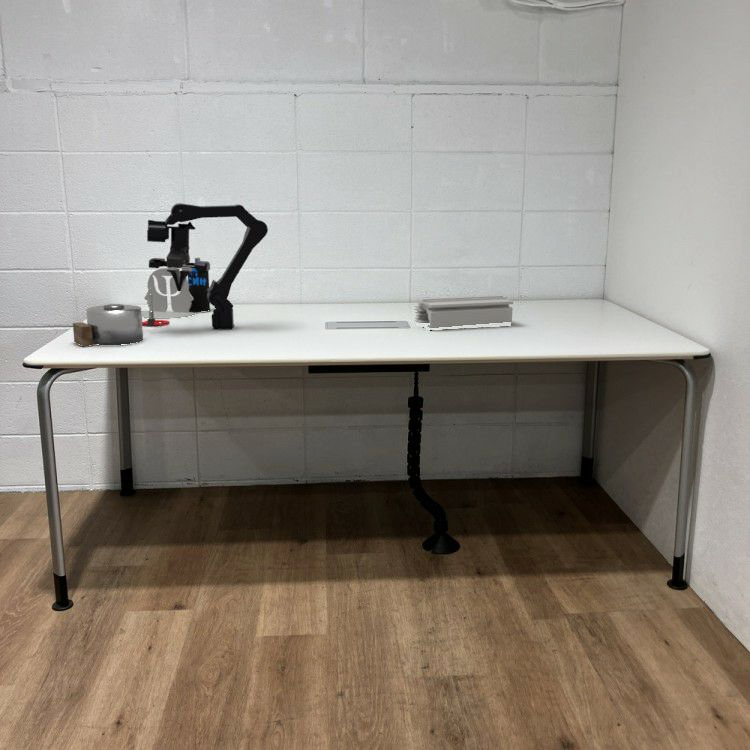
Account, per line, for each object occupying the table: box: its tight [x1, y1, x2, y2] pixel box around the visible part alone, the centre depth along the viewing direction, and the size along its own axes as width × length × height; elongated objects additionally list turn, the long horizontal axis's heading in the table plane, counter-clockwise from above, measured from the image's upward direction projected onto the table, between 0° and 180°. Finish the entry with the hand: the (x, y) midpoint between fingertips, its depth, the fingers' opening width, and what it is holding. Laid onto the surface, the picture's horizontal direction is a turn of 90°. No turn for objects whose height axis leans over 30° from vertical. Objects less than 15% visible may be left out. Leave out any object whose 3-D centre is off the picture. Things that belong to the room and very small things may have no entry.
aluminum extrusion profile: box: [414, 295, 514, 328], centre depth 277 cm, size 14×31×10 cm, turn 109°
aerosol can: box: [187, 257, 211, 313], centre depth 299 cm, size 8×8×20 cm
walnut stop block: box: [72, 321, 94, 347], centre depth 240 cm, size 3×8×6 cm, turn 38°
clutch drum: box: [85, 303, 144, 346], centre depth 245 cm, size 16×16×11 cm
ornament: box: [141, 267, 198, 320], centre depth 288 cm, size 22×13×17 cm, turn 82°
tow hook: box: [142, 288, 170, 327], centre depth 273 cm, size 8×13×9 cm
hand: (179, 291), depth 261 cm, fingers closed
